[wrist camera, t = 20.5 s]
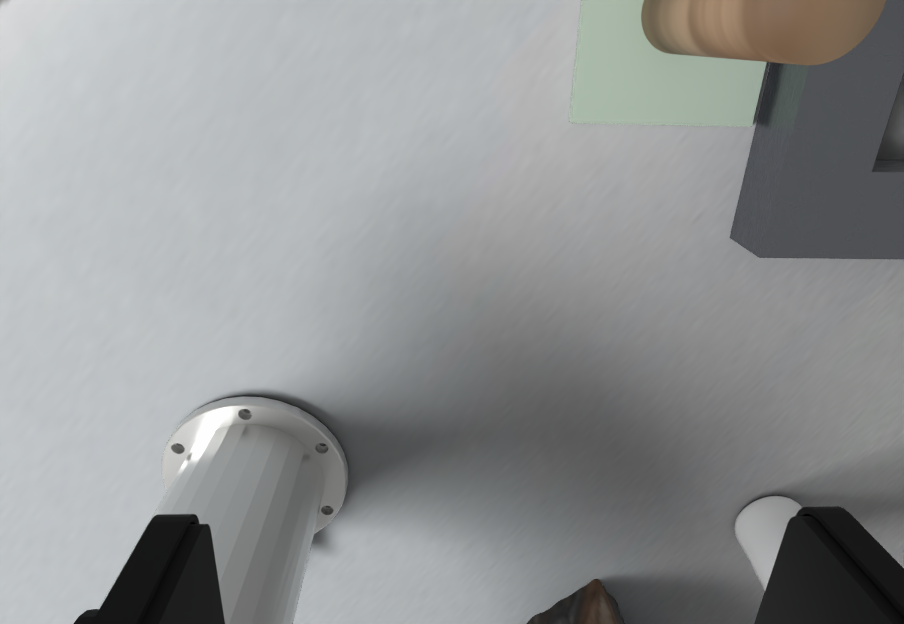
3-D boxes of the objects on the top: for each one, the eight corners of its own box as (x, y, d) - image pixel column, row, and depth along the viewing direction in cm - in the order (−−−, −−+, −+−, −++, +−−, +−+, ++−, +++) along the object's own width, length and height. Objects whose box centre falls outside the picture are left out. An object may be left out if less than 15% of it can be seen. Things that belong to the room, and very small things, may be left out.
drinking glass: (826, 516, 45) (995, 721, 32) (753, 563, 47) (882, 775, 34) (779, 469, 43) (938, 667, 30) (704, 520, 45) (821, 729, 32)
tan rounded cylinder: (728, -34, 29) (908, -75, 18) (711, 55, 31) (866, 66, 20) (648, -36, 29) (781, -79, 18) (635, 53, 30) (749, 64, 20)
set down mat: (747, 125, 33) (751, 126, 32) (568, 121, 32) (570, 123, 32) (802, -115, 28) (808, -118, 28) (594, -123, 28) (596, -126, 27)
